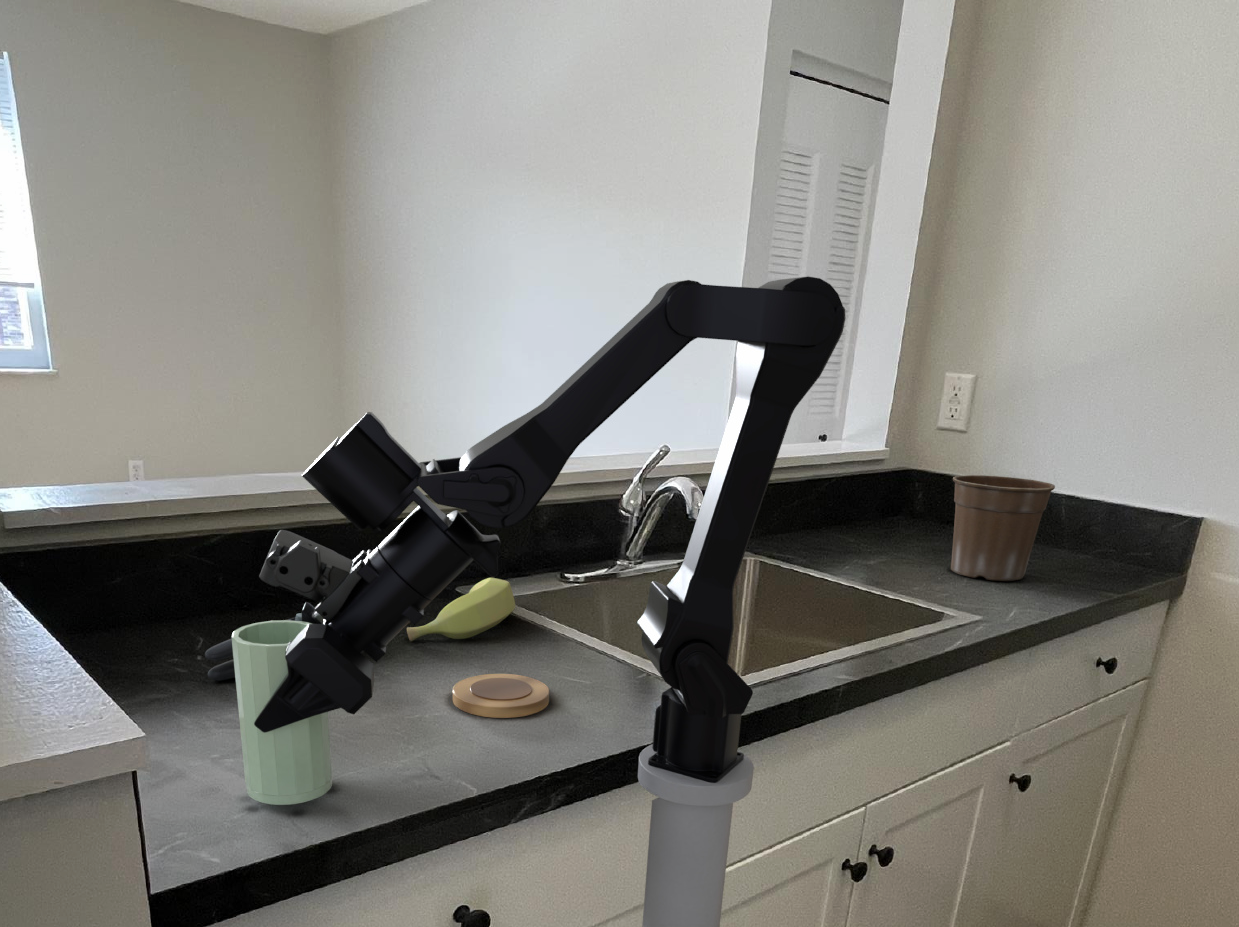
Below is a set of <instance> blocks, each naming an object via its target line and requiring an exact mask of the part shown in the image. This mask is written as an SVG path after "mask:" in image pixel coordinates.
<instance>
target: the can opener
mask: <svg viewBox="0 0 1239 927" xmlns="http://www.w3.org/2000/svg"><path fill="white" fill-rule="evenodd" d="M287 620H288V621H289V620H291V621H302V612H301V613H296V615H295V617H292V618H288V619H287ZM204 656H205V659H207V660H208V661H212V662H219V661H223V660H226V659H228V658H233V648H232V638H229V639H227V640H225V641H223V642H220V643H217V644H216V645H213V646H211V647H210V648H208V649H207V650H206V651H205V652H204ZM207 677H208V678H209V679H210V680H213V681H217V682H221V681H227V680H231V679H235V669H234V658H233V659H230V660H227V661H226V662H223V663H220V664H217V665H215V666H213V667H212V668H210V669H209V671H208V672H207Z"/></svg>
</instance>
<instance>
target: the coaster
mask: <svg viewBox="0 0 1239 927" xmlns="http://www.w3.org/2000/svg"><path fill="white" fill-rule="evenodd" d="M452 703H453V705H454V706H455V707H456V708H457V709H459V710H461V711H462V712H465V713H467V714H471V715H473V716H477V717H485V718H492V719H512V718H513V719H514V718H522V717H526V716H531V715H535V714H538V713H539V712H541V711H543V710H545V709H546V708H547V707H548V706H549V703H550V688H549V687H548V685H546V684H545V683H544V682H542V681H540V680H538V679H537V678H533V677H530V676H525V675H520V674H514V673H512V674H511V673H486V674H479V675H478V674H477V675H474V676H473V675H472V676H469V677H466V678H463V679H461V680H459V681H457V682H456V683H455V684H454V686H453V687H452Z"/></svg>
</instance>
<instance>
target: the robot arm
mask: <svg viewBox="0 0 1239 927" xmlns="http://www.w3.org/2000/svg"><path fill="white" fill-rule="evenodd" d="M845 322H846V308H845V307H844V305H843V302H842V301H841V298H840V294H839V292H838V291H836V289H835V288H834V287H833V286H832V284H831V283H829V282H827V281H825V280H824V279H822V278H820V277H814V276H801V277H800V276H798V277H792V278H791V277H790V278H781V279H775V280H772V281H771V280H770V281H767V282H765V283H764V284H763V285H760V286H758V287H747V286H746V287H745V286H732V285H731V286H729V285H716V284H715V285H714V284H703V283H700V282H699V281H696V280H692V279H691V280H690V279H687V280H679V281H678V280H677V281H672V282H668V283H666V284H664V285H663V286H661V287H659V288H658V289H657V291H656V292H655V293H654V295H653V296H652V298H651V299H650V301H649V302H648V303H647V304H646V305H645V306H644V307H643V308H642V309H641V310H640V311H639V312H638V313H637V314H636V315H634V317H632V318H631V319H630V320H629V321H628V322H627V323H626V324H625V325H624V326H623V327H621V328H620V329H619V331H617V332H616V333H615V334H614V335H613V336H612V337H611V338H610V339H609V340H608V341H607V342H606V343H604V345H602V346H601V348H599V349H598V350H597V351H596V352H595V353H594V354H593V355H592V356H590V358H589V359H588V360H587V361H585V362H584V363H583V364H582V365H581V366H580V367H579V368H578V369H577V370H575V372H574V373H572V375H571V376H569V377H568V378H567V379H566V380H565V381H564V382H563V383H562V384H561V385H560V386H558V388H557V389H556V390H555V391H554V392H552V393H551V394H550V395H549V396H548V397H547V398H546V399H545V400H544V401H543V402H541V403H540V404H539V405H538V406H536V407H535V408H533V409H531V410H530V411H528V412H526V413H525V414H523V415H521V416H520V417H517V418H516V419H514V420H512V421H510V422H508V423H506V424H505V425H503V426H502V427H500V428H499V429H497V430H495V431H494V432H492V433H491V434H488V435H487V436H486V437H484V438H483V439H481V440H480V441H478V442H477V443H475V444H473V445H472V446H471V447H470V448H468V449H467V450H466V452H465V453H464V454H463V455H462V456H461V457H460V456H459V457H452V458H451V457H450V458H444V459H443V458H442V459H435V458H433V459H432V460H428V461H427V460H426V461H420V462H418V461H417V460H416V458H415V457H413V456H412V455H411V454H410V452H408V450H406V448H405V447H404V446H402V445H401V444H400V442H398V441H397V439H395V438H394V437H393V435H392V434H391V433H390V432H389V431H388V429H387V427H386V426H385V424H384V423H383V422H382V420H380V418H378V417H377V416H376V415H375V414H374V413H373V412H372V411H367V412H366V413H365V414H364V415H363V416H362V417H361V418H360V419H359V420H358V421H357V422H356V423H355V424H354V425H352V426H351V427H350V428H349V429H348V431H346V432H345V434H343V435H342V436H341V437H339V436H337V437H336V438H335V440H333V441H332V442H331V444H329V446H327V448H326V449H325V450H324V451H323V452H322V453H321V454H320V455H319V456H318V457H317V458H316V459H315V460H314V461H313V462H312V463H311V464H310V466H309V467H307V469H306V470H305V471H304V472H303V473H302V474H301V477H302V478H303V479H304V480H305V481H306V482H307V483H308V484H310V485H311V487H313V488H314V489H315V490H316V492H318V493H319V494H321V496H322V497H323V498H325V499H326V500H327V501H328V502H329V503H330V504H331V505H332V506H333V507H334V508H335V509H337V511H339V513H341V514H342V515H343V516H344V517H345V518H346V519H347V520H348V521H349V522H350V523H351V524H352V525H354V527H356V528H357V529H358V530H359V531H363V530H364V529H366V528H367V527H369V528H370V529H371V530H372V531H375V530H376V529H377V530H378V531H380V532H383V531H384V530H385V529H387V528H388V527H389V526H390V525H391V524H393V523H394V522H395V521H396V520H397V519H398V518H399V517H400V516H401V515H402V513H403V512H404V511H406V509H407V508H409V506H410V505H411V504H412V503H413V502H414V503H415V504H416V505H417V506H416V508H414V510H413V511H411V512H410V513H409V514H408V516H407V517H405V519H403V521H402V522H401V523H400V524H399V525H397V526H396V527H395V529H393V530H392V531H391V532H390V533H389V534H388V536H386V537H385V538H384V539H383V540H382V541H381V542H380V543H379V544H378V545H377V546H376V547H375V548H374V549H373V550H371V549H370V548H369V549H368V550H367V551H366V550H364V549H363V550H362V551H360V552H359V553H358V554H357V555H356V557H354V558H353V559H351V558H349V557H346V556H344V555H342V554H340V553H338V552H336V551H335V550H332V549H331V548H328V547H326V546H324V545H322V544H319V543H317V542H315V541H313V540H310V539H308V538H305V537H304V536H301V535H300V534H296V533H295V532H292V531H289V530H286V529H280V530H279V531H278V532H277V535H276V536H275V538H274V539H273V542H272V544H271V546H270V549H269V551H268V553H267V556H266V558H265V560H264V563H263V566H262V568H261V569H260V570H261V571H260V572H259V575H258V577H259V579H260V580H261V581H262V582H264V583H265V584H268V585H270V586H272V587H275V588H278V587H281V588H283V589H286V590H288V591H291V592H293V593H295V594H297V595H299V596H302V597H305V598H307V599H308V600H309V601H310V602H311V603H313V604H314V603H316V602H319V603H318V604H317V605H316V606H314V605H312V604H311V603H310V602H307V601H305V603H304V604H303V607H302V610H301V613H302V621H303V622H308V623H312V624H308V625H307V626H306V627H305V628H304V629H303V630H302V631H301V632H300V633H299V634H298V635H297V637H296V638H295V639H294V640H293V641H290V642H289V644H288V647H287V649H286V652H285V659H286V661H287V667H288V674H287V675H286V677H285V678H284V679H283V681H282V682H281V684H280V685H279V687H278V688H277V690H276V691H275V692H274V694H273V695H272V697H271V698H270V700H269V701H268V702H267V704H266V705H265V707H264V708H263V710H262V711H261V713H260V714H259V716H258V717H257V719H256V720H255V722H254V725H255V726H256V727H257V728H258V729H259V730H261V731H262V732H264V733H266V732H269V731H272V730H275V729H278V728H280V727H283V726H286V725H289V724H292V723H295V722H298V721H300V720H303V719H306V718H309V717H312V716H315V715H319V714H322V713H325V712H328V713H329V712H332V711H335V710H339V709H342V710H343V711H344V712H346V713H347V714H351V715H355V714H357V712H358V711H359V710H360V709H362V708H363V707H364V706H365V705H366V704H367V703H368V702H369V701H370V700H371V699H372V698H373V692H374V685H375V684H374V683H375V672H374V663H372V661H370V659H368V658H367V657H365V655H364V654H363V652H364V653H365V654H366V655H368V656H369V657H370V658H371V659H372V660H373V661H374V662H375V663H378V662H379V661H380V660H381V659H382V658H383V657H384V656H385V655H386V653H387V645H388V644H389V643H390V642H391V641H392V640H393V639H394V638H395V637H396V636H397V635H398V634H399V633H400V632H401V631H402V630H404V629H405V628H406V627H407V626H408V625H409V624H410V623H411V624H412V625H413V626H416V624H418V622H420V621H421V620H422V619H423V618H424V617H425V608H426V607H427V606H428V605H429V604H430V603H431V602H432V601H433V600H434V599H435V598H436V597H437V596H439V594H440V593H442V591H444V590H445V588H447V586H449V584H450V583H452V582H453V581H454V580H455V579H456V578H457V577H458V576H459V575H460V574H461V573H462V572H463V571H464V570H466V568H467V567H468V566H469V565H470V564H471V563H472V562H473V561H474V562H475V563H476V564H478V566H479V567H480V568H482V570H483V571H484V572H486V574H487V575H488V576H490V577H491V578H495V577H497V576H498V575H499V566H498V565H499V564H498V558H499V557H498V556H499V550H500V547H501V540H500V538H499V535H498V534H489V535H488V534H482V533H481V532H480V531H479V530H478V529H477V528H476V527H475V526H474V525H473V524H472V523H471V522H470V521H469V520H468V519H467V518H466V517H465V516H464V515H463V514H462V513H461V512H460V511H459V510H464V511H466V513H467V514H468V515H469V516H470V517H471V518H472V519H473V520H474V521H475V522H477V523H478V524H480V525H482V526H485V527H488V528H490V529H510V528H513V527H516V526H518V525H519V524H520V523H522V522H523V521H525V520H526V519H527V518H528V517H529V516H530V515H531V513H532V512H533V511H534V510H535V508H536V507H537V506H538V505H539V503H540V502H541V501H542V499H543V498H544V496H546V494H547V492H548V491H549V490H550V489H551V487H552V486H553V485H554V484H555V482H556V481H557V479H558V477H559V475H560V474H561V472H562V471H563V469H564V467H565V465H566V464H567V462H568V461H569V459H570V458H571V456H572V455H573V453H574V452H575V451H576V450H577V448H578V447H579V446H580V445H581V444H582V443H583V442H584V441H585V440H586V439H587V438H588V437H589V436H591V435H592V434H593V432H595V431H596V430H597V429H599V427H601V425H603V423H605V422H606V421H607V420H608V419H609V417H611V416H612V415H613V414H614V413H615V412H616V411H618V410H619V408H621V407H622V406H623V405H624V404H626V402H627V401H628V400H629V399H630V398H631V397H633V396H634V395H635V394H636V393H637V392H638V391H639V390H640V389H641V388H643V386H644V385H645V384H647V383H648V382H649V381H650V380H651V379H652V378H653V377H654V376H655V375H656V374H658V372H659V371H660V370H662V369H663V368H664V367H665V366H666V365H667V364H668V363H669V362H671V360H672V359H674V358H675V357H676V356H677V355H678V354H679V353H680V352H682V350H683V349H684V348H685V347H687V346H688V345H689V344H690V343H691V342H692V341H694V340H696V339H709V340H722V341H734V342H737V344H736V351H735V352H736V353H735V367H736V368H735V375H736V377H735V378H736V392H735V398H734V402H733V405H732V408H731V411H730V414H729V418H728V420H727V422H726V427H725V430H724V433H723V435H722V438H721V442H720V445H719V449H718V452H717V455H716V457H715V461H714V464H713V467H712V471H711V474H710V476H709V480H708V483H707V486H706V489H705V492H704V496H703V498H702V502H701V505H700V508H699V510H698V514H697V518H696V520H695V523H694V527H693V530H692V532H691V535H690V540H689V542H688V546H687V548H686V552H685V555H684V558H683V561H682V564H681V566H680V568H679V569H678V571H677V572H676V574H675V575H674V576H673V577H672V578H671V580H670V581H669V582H668V584H667V585H665V584H663V583H660V582H658V581H656V580H652V581H651V582H650V586H649V588H648V596H647V602H646V607H645V609H644V612H643V614H642V615H641V616H640V618H639V619H638V620H637V622H636V625H637V626H638V627H639V629H640V630H641V632H642V633H641V646H642V648H643V650H644V652H645V654H646V656H647V658H648V659H649V661H650V662H651V663H652V665H653V667H654V668H655V670H656V671H657V672H658V674H659V675H660V676H661V678H662V679H663V681H664V682H665V683H666V684H667V685H668V686H670V687H669V688H668V689H666V690H664V691H663V692H662V693H661V696H660V697H661V698H660V704H659V705H658V706H656V707H655V710H654V720H653V721H654V722H653V723H654V724H653V734H652V735H653V736H652V744H653V747H652V748H653V751H654V752H657V753H655V754H654V755H653V756H651V757H650V758H649V759H648V765H650V766H653V767H656V768H660V769H664V770H667V771H671V772H674V773H678V774H681V775H685V776H688V777H692V778H695V779H699V780H702V781H706V782H709V783H717V782H718V781H720V780H721V779H722V778H723V777H724V776H725V775H726V774H728V773H729V772H730V771H731V770H732V769H733V768H734V767H736V766H737V765H738V764H739V763H740V762H741V761H742V760H743V759H744V754H745V753H744V754H743V752H742V751H740V752H737V751H738V750H739V742H740V741H739V740H740V732H741V723H742V715H743V714H744V713H745V711H746V709H747V708H748V705H749V703H750V701H751V699H752V696H753V694H754V691H753V689H752V688H751V687H750V686H749V685H748V684H747V683H746V682H745V680H744V679H743V678H742V677H741V676H740V675H739V674H738V672H736V670H735V669H734V668H732V666H731V665H730V663H729V658H730V652H731V647H732V640H733V635H734V627H735V626H734V624H735V623H734V622H735V621H734V590H735V583H736V581H737V577H738V574H739V571H740V569H741V566H742V563H743V559H744V557H745V554H746V550H747V548H748V544H749V542H750V539H751V535H752V533H753V530H754V527H755V524H756V522H757V518H758V516H759V513H760V510H761V506H762V503H763V500H764V498H765V494H766V492H767V489H768V487H769V483H770V481H771V478H772V474H773V471H774V468H775V465H776V462H777V460H778V457H779V454H780V451H781V448H782V445H783V442H784V438H785V435H786V432H787V429H788V427H789V424H790V421H791V418H792V415H793V413H794V411H795V410H796V408H797V406H798V405H799V404H800V402H801V401H802V400H803V399H804V397H805V396H806V395H807V394H808V393H809V391H810V390H811V388H812V387H813V386H814V385H815V383H816V382H817V381H818V379H820V377H821V376H822V373H823V371H824V370H825V368H826V366H827V364H828V362H829V360H830V359H831V356H832V354H833V353H834V351H835V349H836V347H837V345H838V343H839V341H840V339H841V337H842V335H843V333H844V327H845ZM418 487H419V488H420V489H421V490H422V491H423V492H424V493H425V494H426V495H427V496H428V497H429V498H430V499H431V500H432V501H431V500H430V499H429V498H428V497H427V496H426V495H425V494H424V493H423V492H422V491H421V490H420V489H419V488H418ZM433 502H434V503H435V504H434V503H433ZM436 504H437V505H441V506H445V507H449V508H455V509H459V510H453V511H451V512H449V513H448V514H446V513H444V512H443V511H442V510H441V509H440V508H438V506H436ZM741 752H742V753H741Z"/></svg>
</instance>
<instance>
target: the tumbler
mask: <svg viewBox="0 0 1239 927" xmlns="http://www.w3.org/2000/svg"><path fill="white" fill-rule="evenodd" d="M308 624H312V623H308V622H303V621H291V620H289V621H288V619H285V620H284V619H283V620H268V621H267V620H266V621H260V622H255V623H254V622H253V623H251V624H246V625H243V626H241V627H238V628H236V629H235V630H234V631H233V632H232V634H231V639H232V648H233V656H232V658H233V659H234V669H235V678H234V679H235V688H236V699H237V709H238V710H237V711H238V720H239V731H240V742H241V751H242V761H243V771H244V773H243V774H244V782H245V786H246V787H245V788H246V793H247V795H248V797H250V798H251V799H252V800H254V801H256V802H258V803H262V804H266V805H272V806H273V805H275V806H286V805H287V806H289V805H297V804H302V803H306V802H311V801H314V800H315V799H318V798H320V797H322V796H323V795H325V794H327V793H328V791H330V790H331V789H332V786H333V771H332V754H331V738H330V736H331V735H330V719H329V712H325V713H322V714H319V715H315V716H312V717H309V718H306V719H303V720H300V721H298V722H295V723H292V724H289V725H286V726H283V727H280V728H278V729H275V730H272V731H269V732H266V733H264V732H262V731H261V730H259V729H258V728H257V727H256V726H255V725H254V722H255V720H256V719H257V717H258V716H259V714H260V713H261V711H262V710H263V708H264V707H265V705H266V704H267V702H268V701H269V700H270V698H271V697H272V695H273V694H274V692H275V691H276V690H277V688H278V687H279V685H280V684H281V682H282V681H283V679H284V678H285V677H286V675H287V674H288V667H287V661H286V659H285V652H286V649H287V647H288V644H289V642H290V641H293V640H294V639H295V638H296V637H297V635H298V634H299V633H300V632H301V631H302V630H303V629H304V628H305V627H306V626H307V625H308Z"/></svg>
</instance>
